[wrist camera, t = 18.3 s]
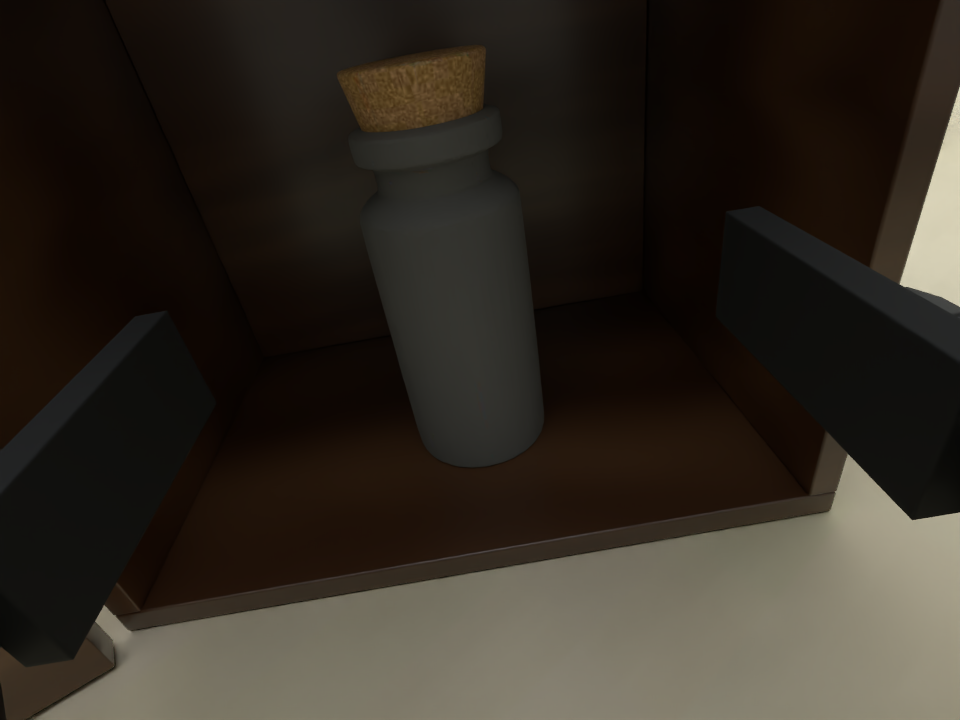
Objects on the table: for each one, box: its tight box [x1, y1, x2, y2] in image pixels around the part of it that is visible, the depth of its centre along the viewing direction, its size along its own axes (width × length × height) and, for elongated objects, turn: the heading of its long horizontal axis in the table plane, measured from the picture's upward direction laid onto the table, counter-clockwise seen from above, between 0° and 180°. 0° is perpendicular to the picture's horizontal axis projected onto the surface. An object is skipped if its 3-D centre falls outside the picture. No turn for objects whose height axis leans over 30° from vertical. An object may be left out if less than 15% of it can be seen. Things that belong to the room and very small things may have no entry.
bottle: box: [337, 45, 544, 468], centre depth 21 cm, size 6×6×15 cm
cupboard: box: [0, 0, 960, 630], centre depth 20 cm, size 18×26×26 cm
